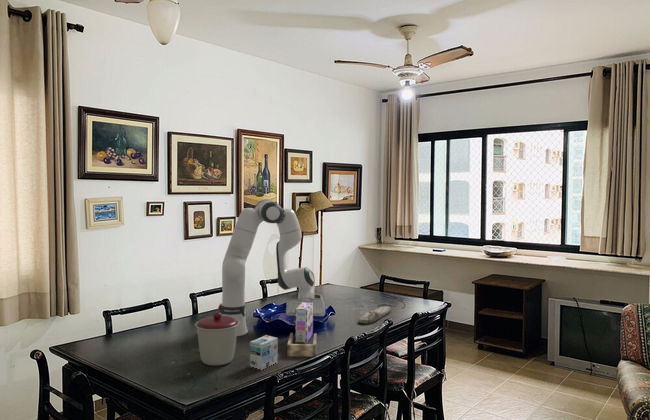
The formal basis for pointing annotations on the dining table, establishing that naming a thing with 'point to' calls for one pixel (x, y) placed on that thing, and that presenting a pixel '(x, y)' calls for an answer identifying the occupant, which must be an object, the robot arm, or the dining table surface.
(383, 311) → the elongated rock
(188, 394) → the dining table surface
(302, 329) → the candy box
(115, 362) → the dining table surface
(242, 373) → the dining table surface
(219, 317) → the canister
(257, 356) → the light bulb box
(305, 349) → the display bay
